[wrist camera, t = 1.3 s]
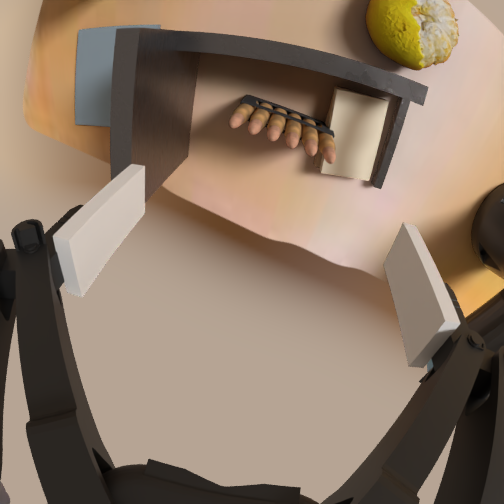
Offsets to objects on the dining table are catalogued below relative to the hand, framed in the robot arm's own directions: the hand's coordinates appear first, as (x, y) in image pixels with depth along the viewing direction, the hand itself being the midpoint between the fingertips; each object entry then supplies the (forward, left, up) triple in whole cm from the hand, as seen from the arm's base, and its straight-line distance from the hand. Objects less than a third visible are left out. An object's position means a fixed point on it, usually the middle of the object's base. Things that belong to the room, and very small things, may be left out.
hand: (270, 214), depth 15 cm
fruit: (-11, -15, -25) cm, 31 cm away
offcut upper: (-8, 0, -23) cm, 24 cm away
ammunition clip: (0, 0, -24) cm, 24 cm away
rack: (0, 0, -24) cm, 24 cm away
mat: (+23, -2, -24) cm, 33 cm away
